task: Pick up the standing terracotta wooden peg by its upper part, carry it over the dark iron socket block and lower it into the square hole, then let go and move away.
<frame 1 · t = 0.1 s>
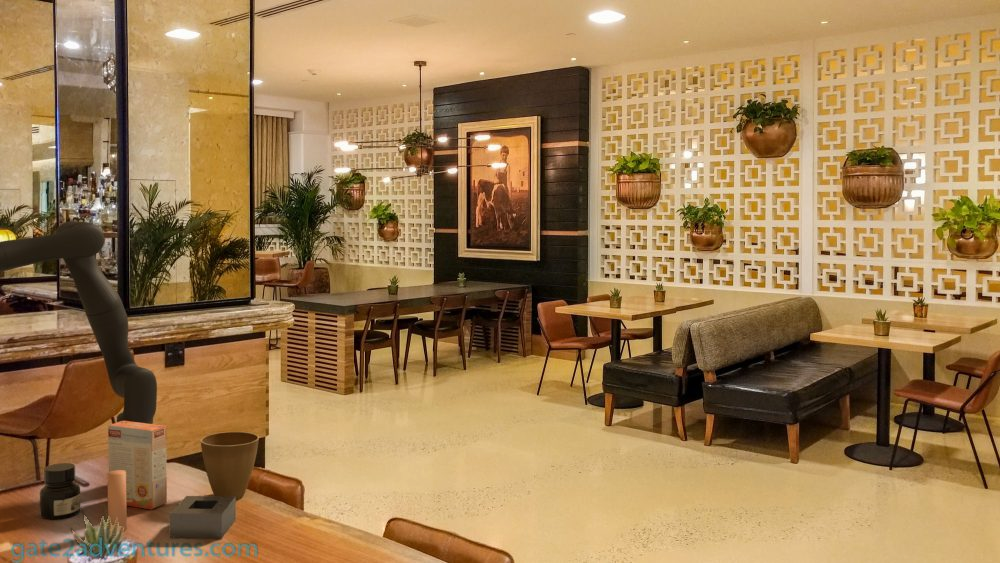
peg: (117, 529, 198), on the table
plant pot: (230, 496, 223), on the table
socket: (203, 528, 200), on the table
cracker box: (138, 504, 216), on the table
ink bottle: (60, 514, 208), on the table
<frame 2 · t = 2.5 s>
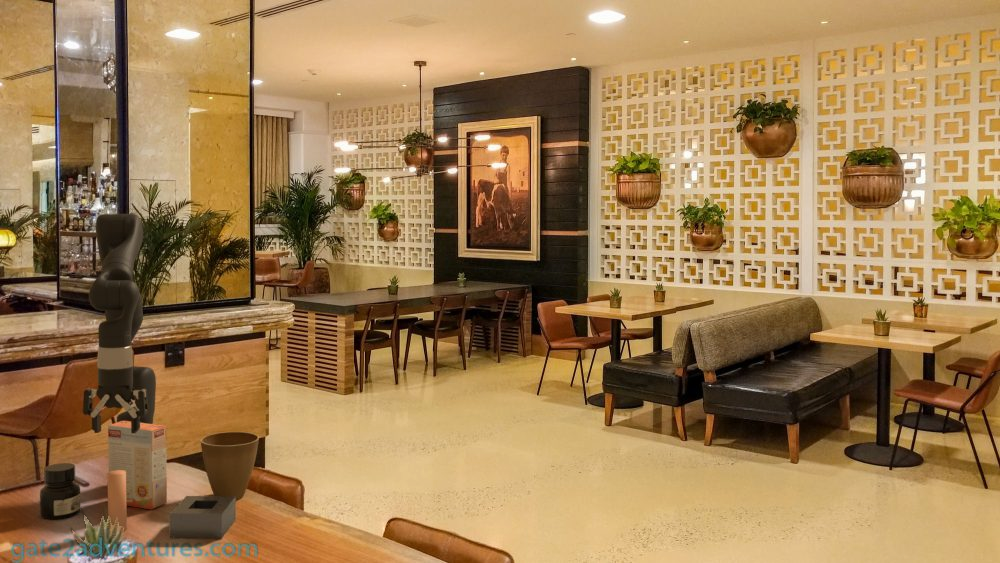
hand: (116, 432, 196), 24 cm above the table, tool pointing down, fingers open, 8 cm apart
nothing on the table moved.
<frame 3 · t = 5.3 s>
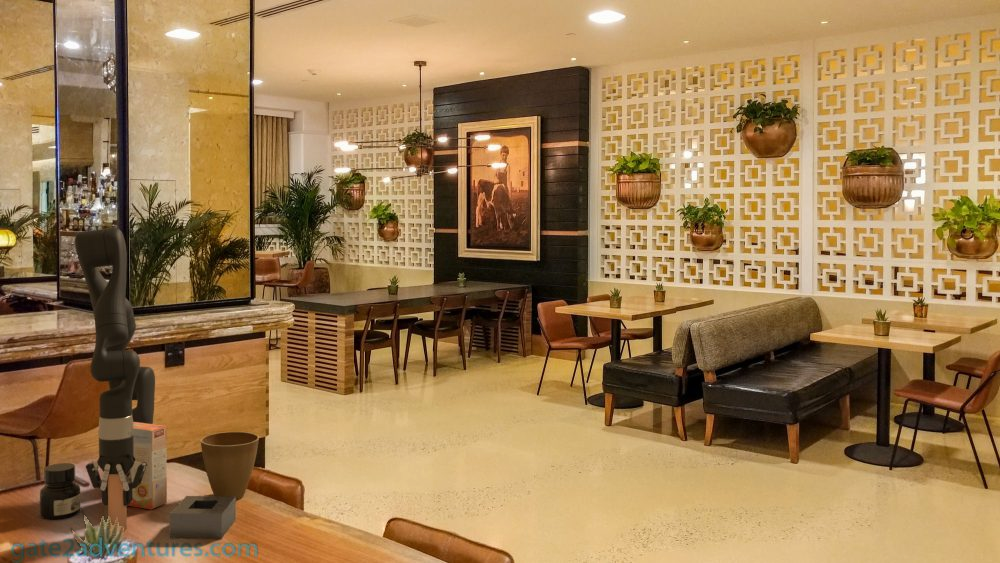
hand: (117, 504, 198), 6 cm above the table, tool pointing down, fingers closed on peg, 4 cm apart
peg: (117, 529, 198), on the table, touching gripper
everything else where it was.
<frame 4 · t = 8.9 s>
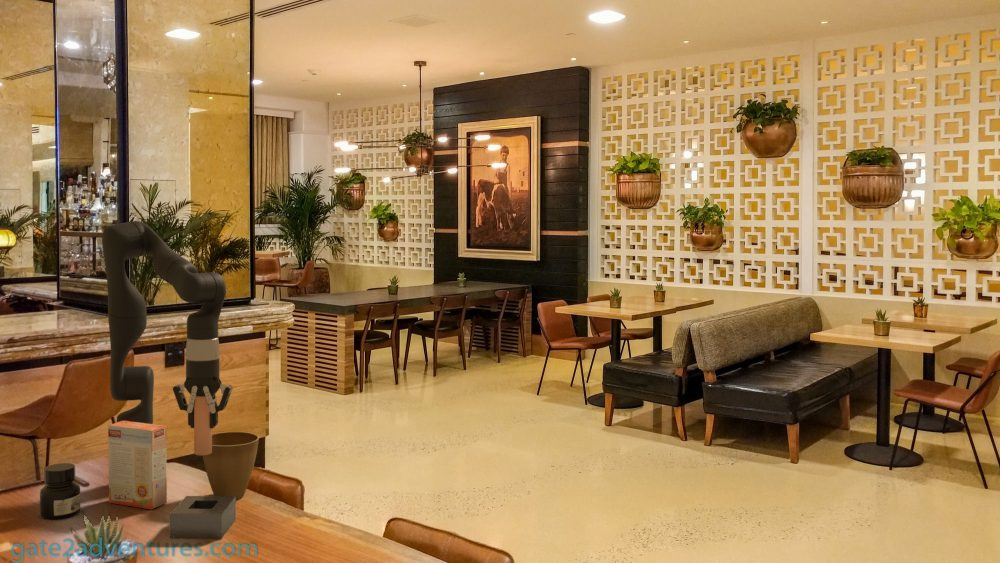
hand: (203, 427, 198), 25 cm above the table, tool pointing down, fingers closed on peg, 4 cm apart
peg: (203, 452, 199), point 19 cm above the table, touching gripper
everything else where it was.
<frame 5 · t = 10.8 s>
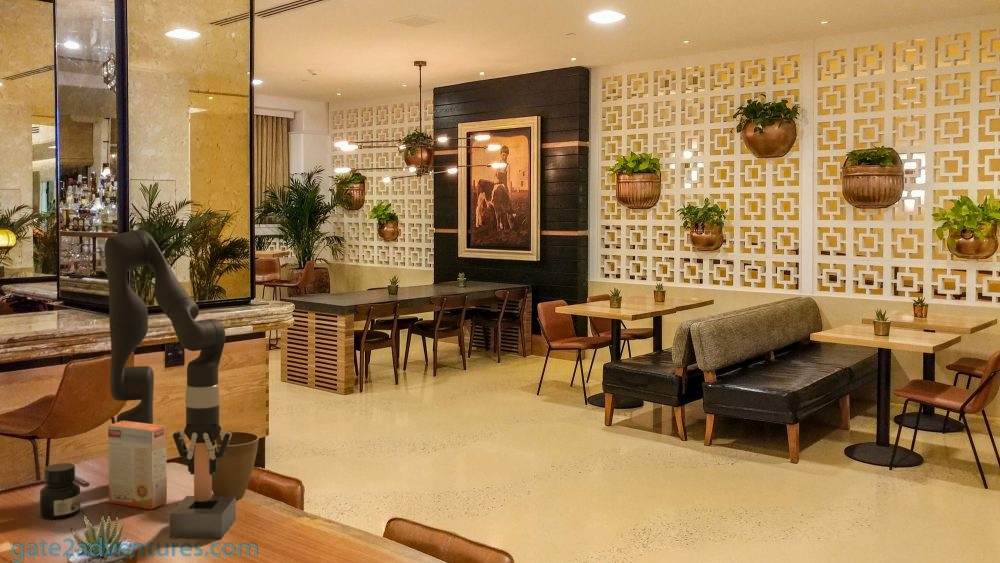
hand: (202, 473, 199), 14 cm above the table, tool pointing down, fingers closed on peg, 4 cm apart
peg: (202, 498, 200), point 8 cm above the table, touching gripper
everything else where it was.
when the fingers open (9 cm above the table, at t = 12.6 s): peg drops 1 cm, resting on socket.
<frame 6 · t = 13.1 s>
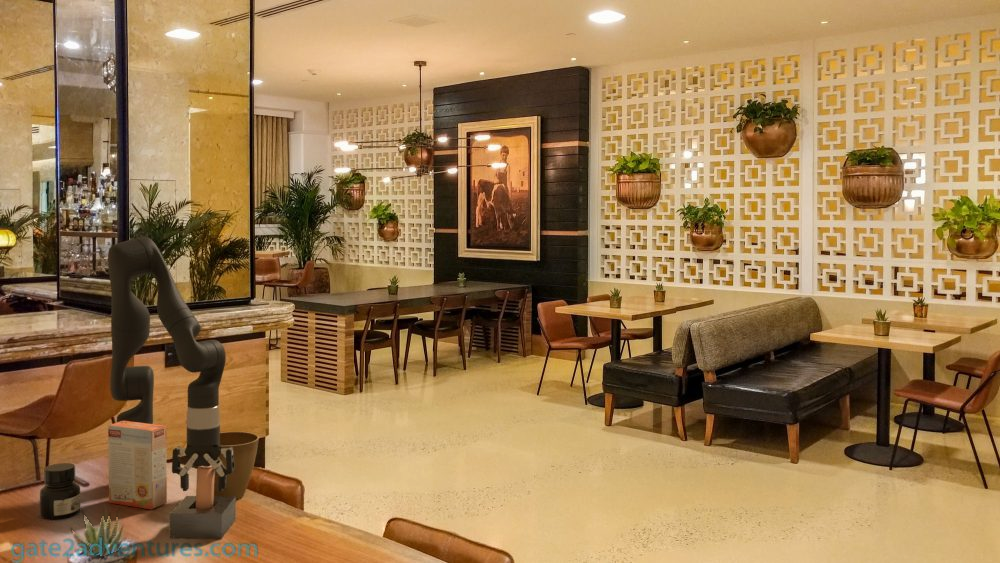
hand: (203, 490, 200), 10 cm above the table, tool pointing down, fingers open, 8 cm apart
peg: (203, 524, 200), point 1 cm above the table, touching socket
everything else where it was.
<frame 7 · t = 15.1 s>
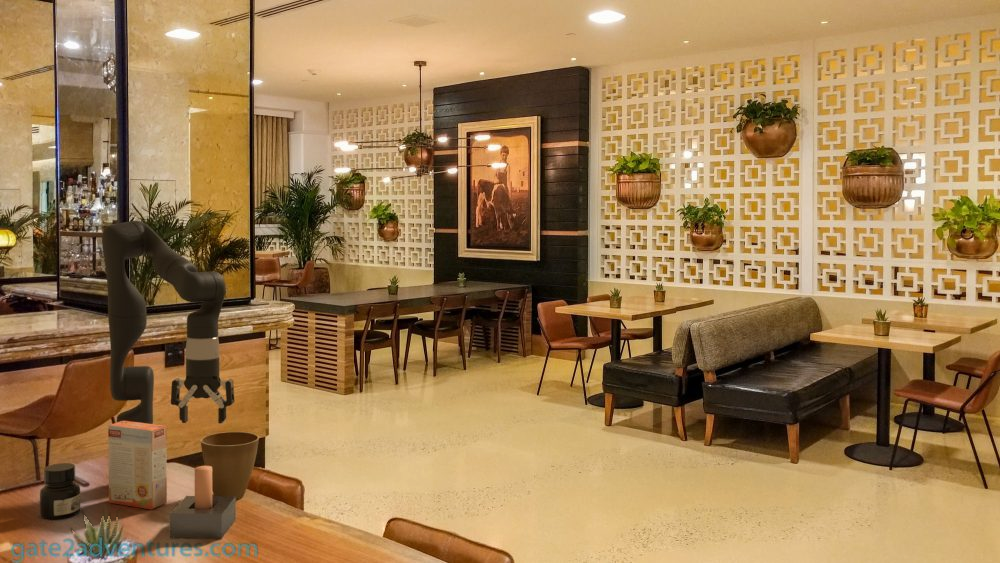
hand: (202, 422, 198), 26 cm above the table, tool pointing down, fingers open, 8 cm apart
nothing on the table moved.
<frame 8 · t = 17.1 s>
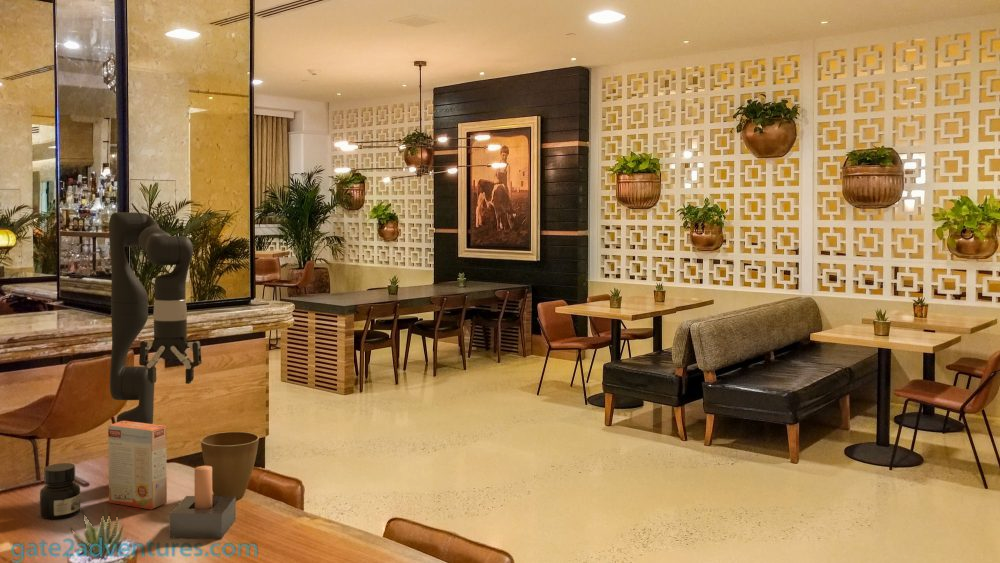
hand: (170, 383, 204), 34 cm above the table, tool pointing down, fingers open, 8 cm apart
nothing on the table moved.
at the end: peg 0.1 cm off-centre on the socket, point 1.0 cm above the socket's base; peg tilted 0°; the gripper is holding nothing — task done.
